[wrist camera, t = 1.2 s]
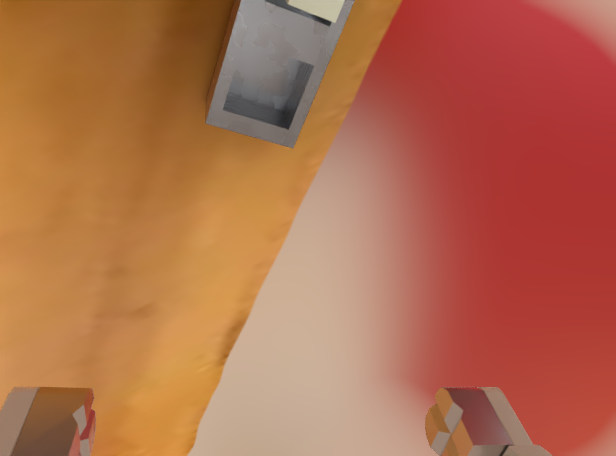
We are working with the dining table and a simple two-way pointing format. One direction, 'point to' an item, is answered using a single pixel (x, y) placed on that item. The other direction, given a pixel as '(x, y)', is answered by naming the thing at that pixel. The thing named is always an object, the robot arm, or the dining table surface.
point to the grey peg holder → (270, 68)
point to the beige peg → (319, 7)
